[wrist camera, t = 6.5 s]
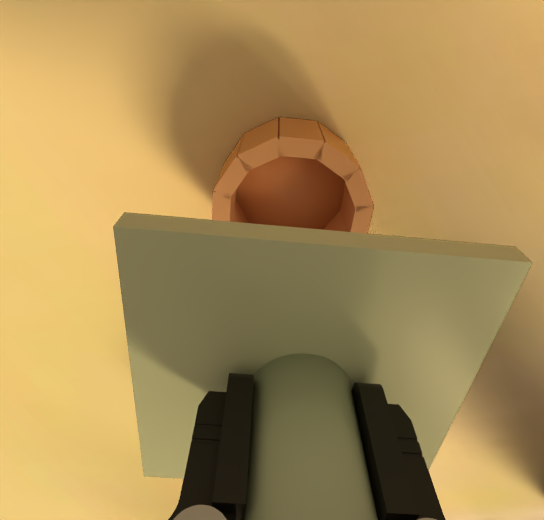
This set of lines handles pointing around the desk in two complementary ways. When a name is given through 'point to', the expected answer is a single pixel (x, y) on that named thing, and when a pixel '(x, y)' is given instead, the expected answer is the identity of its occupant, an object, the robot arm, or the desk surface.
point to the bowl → (293, 180)
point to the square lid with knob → (303, 344)
